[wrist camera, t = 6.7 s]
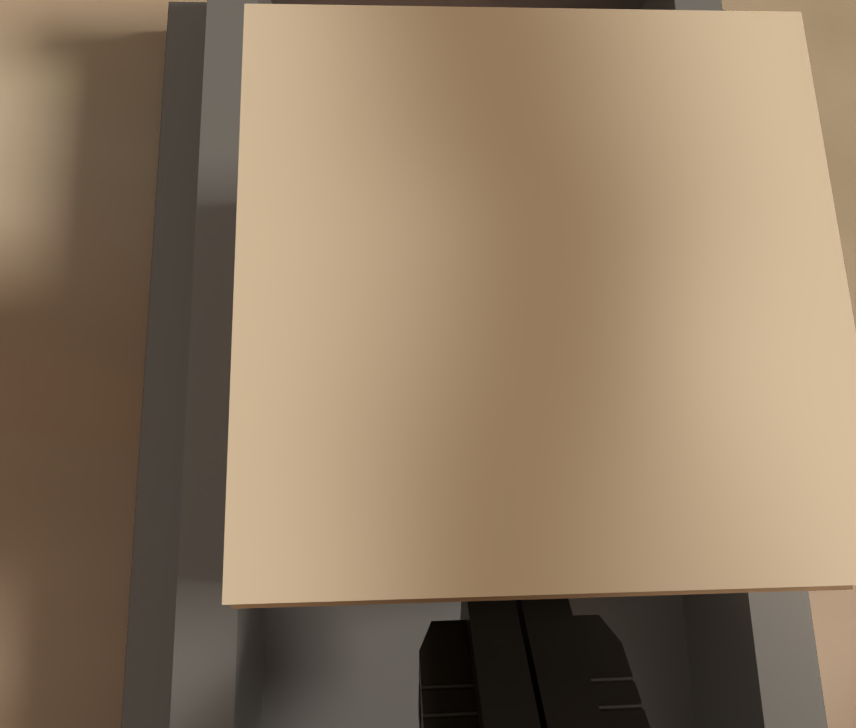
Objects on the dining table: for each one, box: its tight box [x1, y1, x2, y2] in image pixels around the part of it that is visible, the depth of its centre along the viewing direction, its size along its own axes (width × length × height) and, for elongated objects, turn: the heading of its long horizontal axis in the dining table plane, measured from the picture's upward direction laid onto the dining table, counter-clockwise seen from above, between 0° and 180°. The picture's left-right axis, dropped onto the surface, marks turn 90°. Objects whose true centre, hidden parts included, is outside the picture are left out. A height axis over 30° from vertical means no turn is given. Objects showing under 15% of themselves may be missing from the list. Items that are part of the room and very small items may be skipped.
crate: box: [222, 4, 856, 609], centre depth 12 cm, size 7×7×8 cm
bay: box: [121, 0, 828, 728], centre depth 14 cm, size 14×26×5 cm, turn 2°
